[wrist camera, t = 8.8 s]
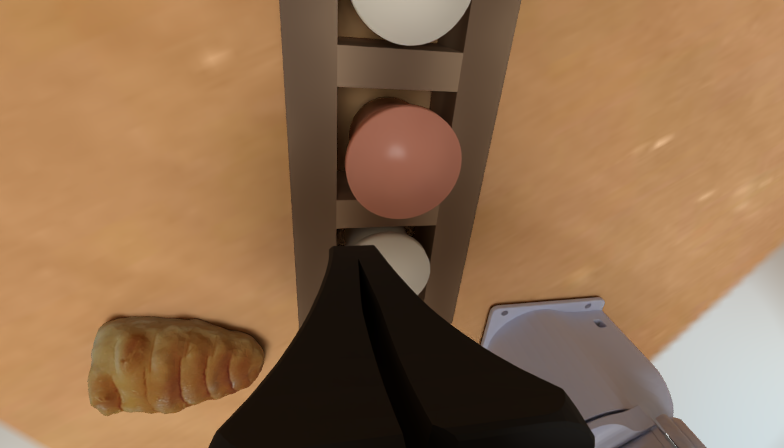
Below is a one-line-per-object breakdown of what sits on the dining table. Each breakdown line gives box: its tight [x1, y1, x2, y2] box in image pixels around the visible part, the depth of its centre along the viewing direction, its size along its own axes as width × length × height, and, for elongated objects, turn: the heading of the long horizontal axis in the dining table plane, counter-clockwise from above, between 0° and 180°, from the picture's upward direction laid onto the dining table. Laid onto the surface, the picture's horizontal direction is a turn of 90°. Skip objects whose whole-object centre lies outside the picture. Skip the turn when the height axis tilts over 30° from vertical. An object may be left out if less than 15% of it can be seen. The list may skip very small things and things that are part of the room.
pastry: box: [87, 317, 264, 416], centre depth 24 cm, size 9×7×4 cm
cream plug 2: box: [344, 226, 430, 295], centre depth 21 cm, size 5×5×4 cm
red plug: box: [345, 97, 462, 219], centre depth 17 cm, size 5×5×4 cm
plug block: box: [279, 0, 521, 329], centre depth 18 cm, size 9×22×4 cm, turn 175°
